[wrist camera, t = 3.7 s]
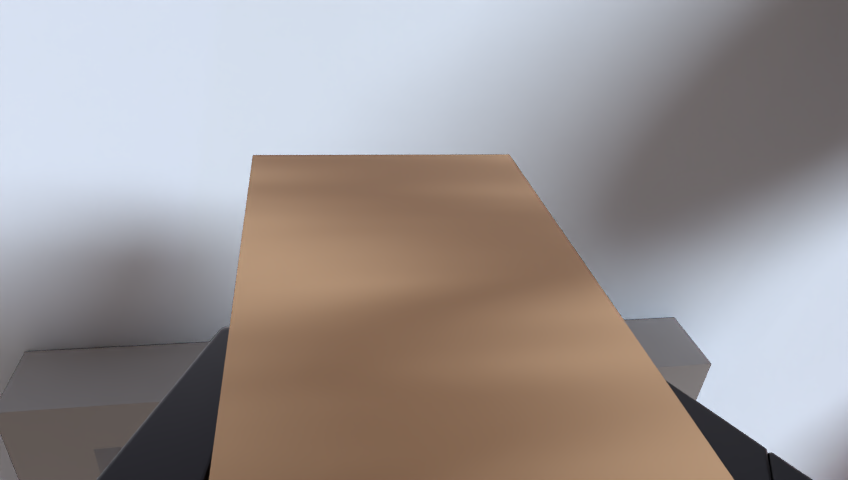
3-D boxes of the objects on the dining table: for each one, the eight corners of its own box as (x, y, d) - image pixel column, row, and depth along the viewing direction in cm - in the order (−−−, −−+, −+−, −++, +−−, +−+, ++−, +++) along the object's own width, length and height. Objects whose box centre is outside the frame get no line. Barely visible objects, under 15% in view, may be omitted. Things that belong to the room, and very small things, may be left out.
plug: (509, 154, 10) (801, 576, 4) (479, 343, 12) (648, 802, 6) (253, 154, 9) (182, 668, 4) (267, 356, 11) (239, 888, 6)
